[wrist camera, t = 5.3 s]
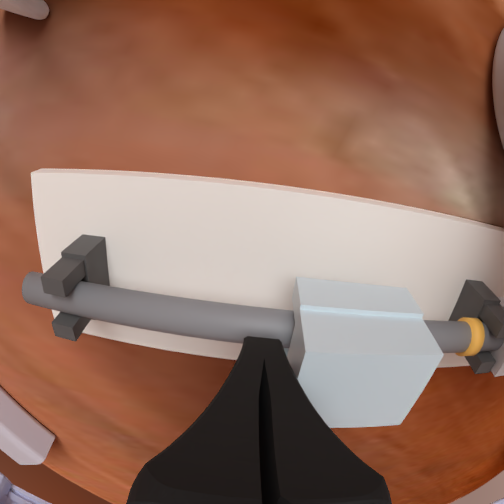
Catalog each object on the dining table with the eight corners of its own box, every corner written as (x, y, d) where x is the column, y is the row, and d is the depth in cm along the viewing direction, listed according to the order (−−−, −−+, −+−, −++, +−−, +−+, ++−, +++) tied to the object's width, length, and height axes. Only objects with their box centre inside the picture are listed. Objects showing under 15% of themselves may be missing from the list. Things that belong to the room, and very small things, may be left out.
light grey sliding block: (406, 287, 13) (446, 350, 9) (376, 362, 15) (398, 427, 11) (296, 276, 13) (307, 346, 9) (278, 357, 15) (281, 429, 11)
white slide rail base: (522, 233, 15) (577, 273, 10) (467, 356, 19) (498, 409, 14) (41, 168, 15) (-28, 198, 10) (63, 317, 19) (21, 371, 14)
